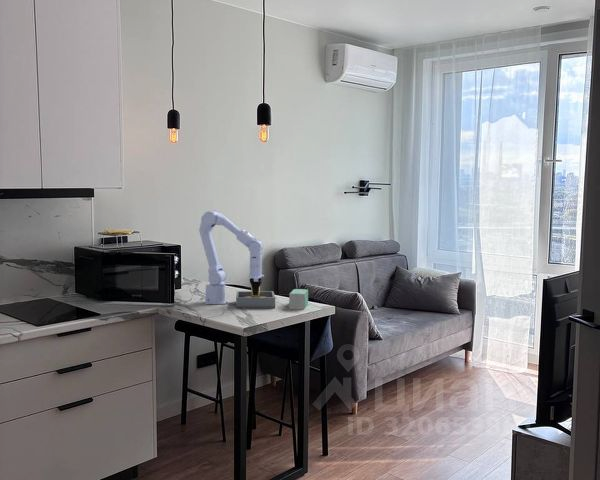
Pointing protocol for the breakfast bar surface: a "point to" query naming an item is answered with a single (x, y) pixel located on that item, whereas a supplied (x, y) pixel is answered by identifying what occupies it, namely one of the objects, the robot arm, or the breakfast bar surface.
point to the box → (298, 299)
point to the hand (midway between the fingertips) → (255, 294)
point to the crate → (255, 300)
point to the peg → (255, 295)
